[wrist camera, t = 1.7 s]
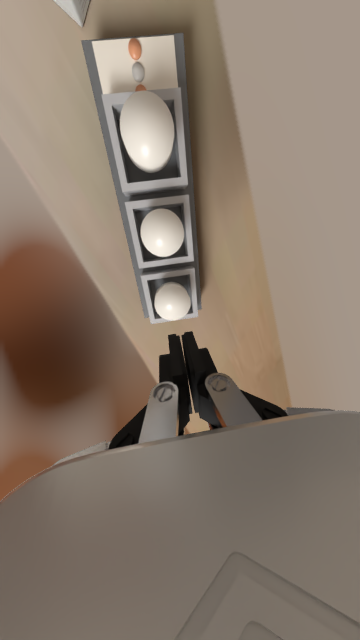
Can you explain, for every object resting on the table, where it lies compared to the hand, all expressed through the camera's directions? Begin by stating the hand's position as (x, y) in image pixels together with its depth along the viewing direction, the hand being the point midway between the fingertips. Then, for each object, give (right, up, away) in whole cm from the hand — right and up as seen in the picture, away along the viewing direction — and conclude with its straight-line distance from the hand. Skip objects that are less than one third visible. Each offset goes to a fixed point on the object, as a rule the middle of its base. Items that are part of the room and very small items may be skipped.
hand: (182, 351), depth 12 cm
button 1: (-1, +5, +9) cm, 10 cm away
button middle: (-2, +11, +6) cm, 13 cm away
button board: (-3, +15, +10) cm, 18 cm away
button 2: (-3, +17, +3) cm, 18 cm away
